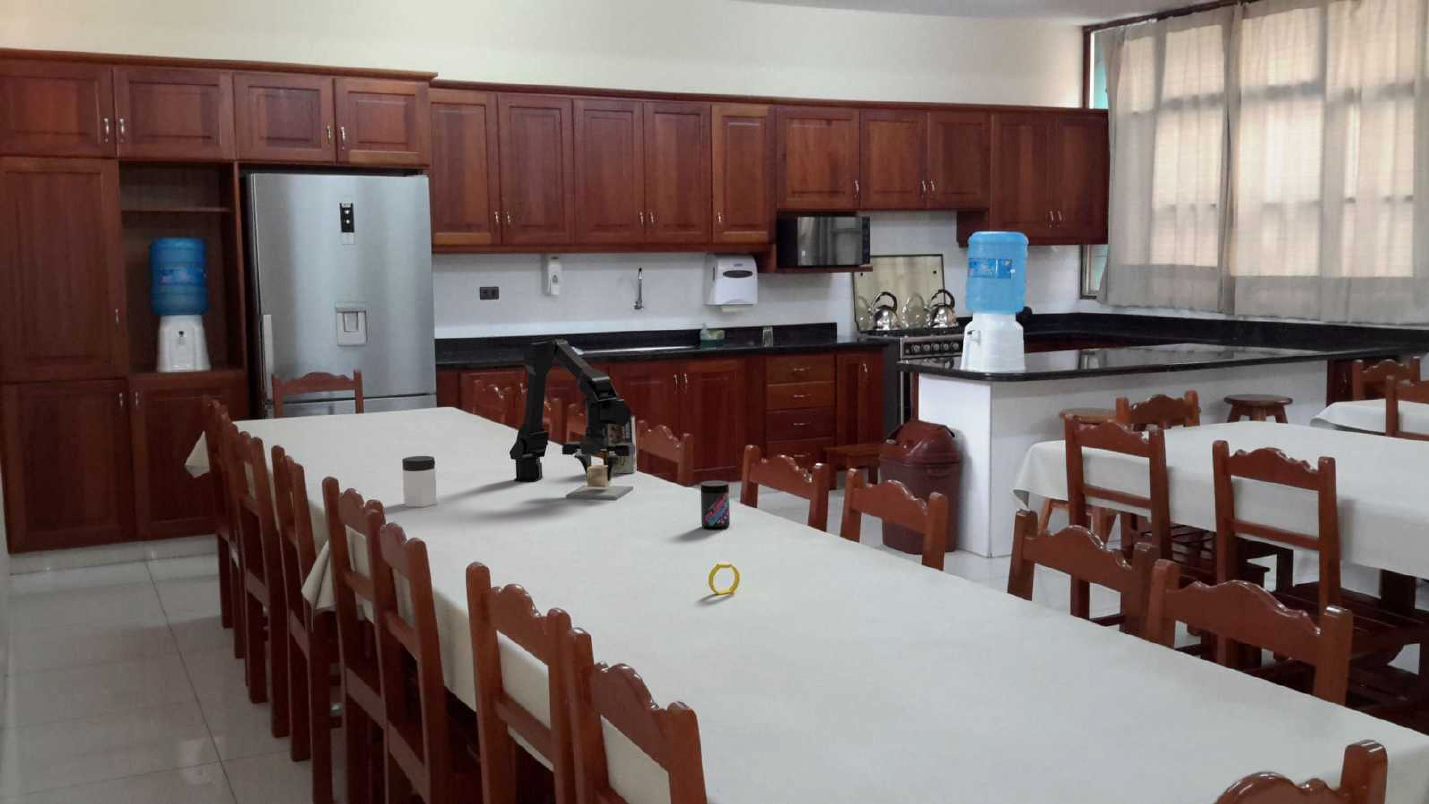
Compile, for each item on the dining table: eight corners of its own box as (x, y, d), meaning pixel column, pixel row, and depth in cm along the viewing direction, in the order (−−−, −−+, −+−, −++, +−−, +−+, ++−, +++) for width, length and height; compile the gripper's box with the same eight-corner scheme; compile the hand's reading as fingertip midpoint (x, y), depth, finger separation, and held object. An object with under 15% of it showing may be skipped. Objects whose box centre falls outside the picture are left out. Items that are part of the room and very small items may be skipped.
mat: (565, 498, 327) (565, 494, 327) (584, 487, 341) (584, 484, 341) (616, 499, 324) (616, 496, 324) (633, 489, 337) (633, 486, 337)
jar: (439, 505, 321) (436, 459, 319) (406, 508, 318) (404, 462, 316) (434, 499, 329) (432, 454, 327) (402, 502, 326) (400, 456, 325)
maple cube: (587, 486, 330) (587, 468, 330) (594, 483, 335) (593, 464, 334) (605, 487, 329) (604, 468, 328) (611, 483, 334) (611, 465, 333)
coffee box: (637, 469, 367) (635, 415, 365) (633, 473, 361) (632, 418, 359) (606, 469, 368) (605, 415, 366) (602, 473, 362) (601, 418, 359)
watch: (734, 590, 239) (735, 560, 238) (741, 594, 236) (742, 563, 236) (706, 593, 236) (707, 562, 235) (712, 596, 233) (714, 565, 233)
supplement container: (698, 530, 288) (697, 485, 287) (704, 523, 295) (703, 480, 293) (726, 531, 287) (726, 486, 285) (732, 524, 293) (731, 480, 292)
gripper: (553, 426, 324) (555, 485, 326) (621, 427, 320) (623, 487, 322) (568, 420, 335) (570, 477, 337) (635, 421, 331) (636, 479, 333)
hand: (599, 480), depth 332 cm, fingers closed on maple cube, 5 cm apart
